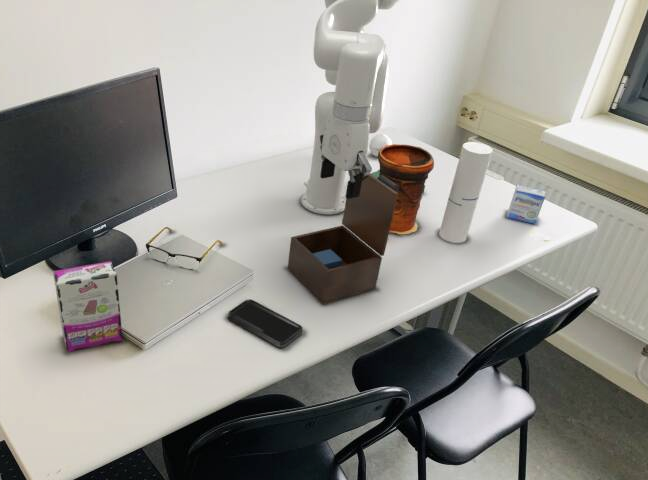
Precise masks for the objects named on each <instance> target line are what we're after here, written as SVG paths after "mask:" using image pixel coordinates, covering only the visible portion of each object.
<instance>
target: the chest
mask: <svg viewBox="0 0 648 480" xmlns="http://www.w3.org/2000/svg"><path fill="white" fill-rule="evenodd" d="M329 249H331V250H332V251H333V252H334V253H335V254H336V255H337V256H339V257H340V258H341V259H342V265H341V266H340V267H336V268H332V269H328V268H327V267H326V266H325V265H324V264H323V263H322V262H321V261H320V260H319V259H318V258H317V257H316V256H314V255H313V253H317V252H321V251H325V250H329ZM288 252H289V253H288V262H287V270H288V271H289V272H290V273H291V274H292V275H293V276H294V277H295V278H297V280H298V281H300V283H301V284H302V285H304V287H305V288H306V289H307V290H308V291H309V292H310V293H311V294H312V295H313V296H314V297H315V298H316V299H317V300H318V301H319V302H320V303H321V304H322V305H326V304H328V303H332V302H337V301H340V300H343V299H348V298H350V297H354V296H357V295H361V294H364V293H368V292H372V291H375V290H376V289H377V284H378V279H379V273H380V269H381V265H382V261H383V256H381V255H379V254H378V253H377V252H376V251H374V250H373V249H372V248H371V247H370V246H368V245H367V244H366V243H365V242H363V241H362V240H361V239H360V238H359V237H357V236H356V235H355V234H354V233H352V232H351V231H350V230H349V229H348V228H346V227H345V226H344V225H343V224H342V225H338V226H337V225H336V226H333V227H329V228H326V229H325V228H324V229H321V230H320V229H319V230H317V231H311V232H307V233H304V234H299V235H295V236H290V244H289V251H288Z"/></svg>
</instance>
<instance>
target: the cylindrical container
mask: <svg viewBox="0 0 648 480" xmlns="http://www.w3.org/2000/svg"><path fill="white" fill-rule="evenodd" d="M493 151H494V150H493V148H492V147H491V146H489V145H487V144H485V143H482V142H476V141H468V142H465V143H463V144H462V147H461V150H460V155H459V158H458V162H457V165H456V169H455V173H454V177H453V179H452V184H451V188H450V192H449V195H448V199H447V203H446V207H445V210H444V213H443V217H442V221H441V224H440V228H439V232H438V235H439V237H440V238H441V239H443V240H444V241H446V242H448V243H453V244H462V243H465V242H466V241H467V238H468V234H469V231H470V228H471V224H472V221H473V217H474V214H475V211H476V208H477V204H478V202H479V198H480V194H481V191H482V188H483V184H484V182H485V179H486V175H487V171H488V168H489V164H490V161H491V159H492V154H493Z"/></svg>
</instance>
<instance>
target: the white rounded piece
mask: <svg viewBox="0 0 648 480" xmlns="http://www.w3.org/2000/svg"><path fill="white" fill-rule="evenodd" d="M392 144H393V141H392V139H391V138H390V137H389V136H388V135H387V134H384V133H379V134H375V135H374V136H372V138H371V139H370V141H369V143H368V149H369V151H370V154H372V155H373V156H374V157H376V158H378V153H379V151H380V149H381V148H382V147H384V146H386V145H392Z"/></svg>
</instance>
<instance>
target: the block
mask: <svg viewBox="0 0 648 480" xmlns="http://www.w3.org/2000/svg"><path fill="white" fill-rule="evenodd" d="M313 255H314V256H316V257H317V258H318V259H319V260H320V261H321V262H322V263H323V264H324V265H325V266H326V267H327V268H328V269H332V268H336V267H340V266H341V265H342V259H341V258H340V257H339V256H337V255H336V254H335V253H334V252H333V251H332V250H331V249H329V250H325V251H321V252H317V253H313Z"/></svg>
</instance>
